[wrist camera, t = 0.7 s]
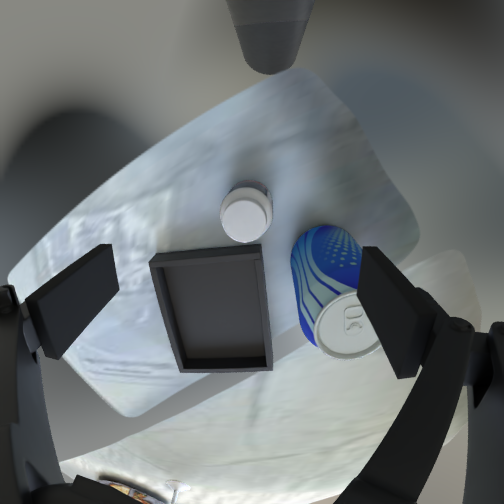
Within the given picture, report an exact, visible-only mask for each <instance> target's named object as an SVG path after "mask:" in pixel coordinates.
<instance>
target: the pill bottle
mask: <svg viewBox="0 0 504 504" xmlns="http://www.w3.org/2000/svg"><path fill="white" fill-rule="evenodd" d="M220 219H221V222H222V224H223V228H224V230H225V232H226V233H227V235H228V236H229V237H230V238H232V239H233V240H235V241H238V242H243V243H247V242H252V241H254V240H256V239H258V238H259V237H260V236H261V235H262V234H264V233H265V232H266V231H267V230H268V228H269V227H270V225H271V222H272V219H273V206H272V197H271V194H270V192H269V191H268V189H267V188H266V187H265V186H264V185H263V184H261V183H259V182H257V181H253V180H246V181H242V182H239V183H238V184H236V185H235V186H234V187H233V188H232V189H231V190H230V191H229V193H228V194H227V195H226V197H225V198H224V200H223V202H222V204H221V207H220Z"/></svg>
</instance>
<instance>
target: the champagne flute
mask: <svg viewBox="0 0 504 504" xmlns="http://www.w3.org/2000/svg"><path fill="white" fill-rule="evenodd" d="M166 484H167V485H168V486H169V487H171V488H172V489H173V490H174V494H173V498H172V502H171V504H176V500H177V496H178V492H179V491H185V490H189V489H190V487H189V486H188V485H186V484H185V483H182V482H179V481H174V480H168V481H166Z"/></svg>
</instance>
